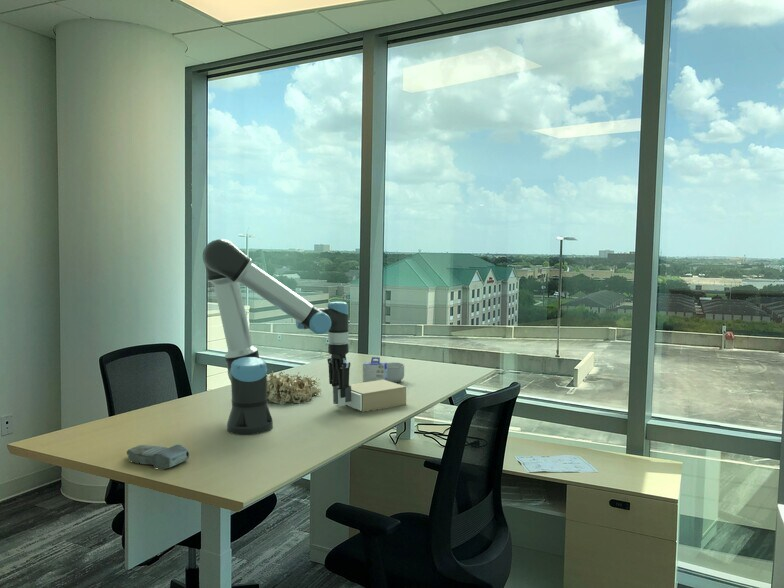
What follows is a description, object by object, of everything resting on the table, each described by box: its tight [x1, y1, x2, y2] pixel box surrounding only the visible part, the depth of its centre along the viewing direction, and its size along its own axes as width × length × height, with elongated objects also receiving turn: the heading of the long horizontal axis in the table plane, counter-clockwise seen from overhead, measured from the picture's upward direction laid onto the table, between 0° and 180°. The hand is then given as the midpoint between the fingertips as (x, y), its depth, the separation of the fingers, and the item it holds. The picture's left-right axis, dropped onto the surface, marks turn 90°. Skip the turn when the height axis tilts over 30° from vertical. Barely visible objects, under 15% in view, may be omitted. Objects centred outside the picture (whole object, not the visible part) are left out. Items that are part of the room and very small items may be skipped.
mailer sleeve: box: [349, 380, 407, 412], centre depth 238 cm, size 20×16×7 cm
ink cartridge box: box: [362, 356, 388, 383], centre depth 259 cm, size 10×6×14 cm, turn 78°
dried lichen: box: [267, 370, 322, 405], centre depth 250 cm, size 27×30×11 cm
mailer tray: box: [332, 384, 362, 411], centre depth 236 cm, size 26×16×8 cm, turn 125°
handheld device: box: [126, 444, 190, 470], centre depth 175 cm, size 10×20×5 cm, turn 67°
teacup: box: [386, 362, 405, 384], centre depth 279 cm, size 14×11×8 cm
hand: (339, 404), depth 229 cm, fingers closed on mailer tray, 3 cm apart
